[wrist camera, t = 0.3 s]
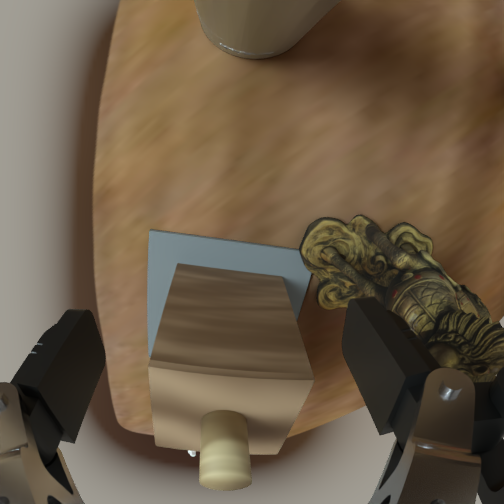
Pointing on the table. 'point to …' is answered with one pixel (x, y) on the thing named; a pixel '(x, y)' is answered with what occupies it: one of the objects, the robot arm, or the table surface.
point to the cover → (227, 370)
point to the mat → (217, 256)
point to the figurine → (404, 289)
